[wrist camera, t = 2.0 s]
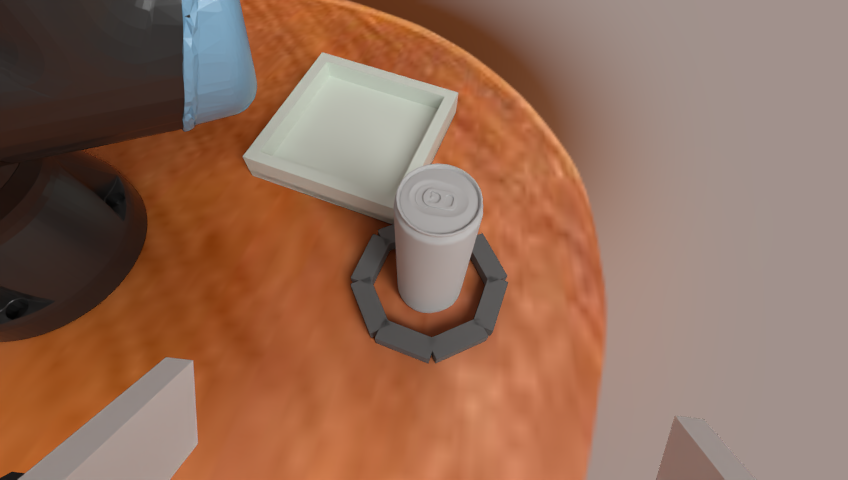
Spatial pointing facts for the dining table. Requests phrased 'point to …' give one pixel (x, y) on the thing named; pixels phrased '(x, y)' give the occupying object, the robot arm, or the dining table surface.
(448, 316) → the dining table surface
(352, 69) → the tray
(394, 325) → the seat ring
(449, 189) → the beverage can
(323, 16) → the dining table surface
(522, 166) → the dining table surface
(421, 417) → the dining table surface
